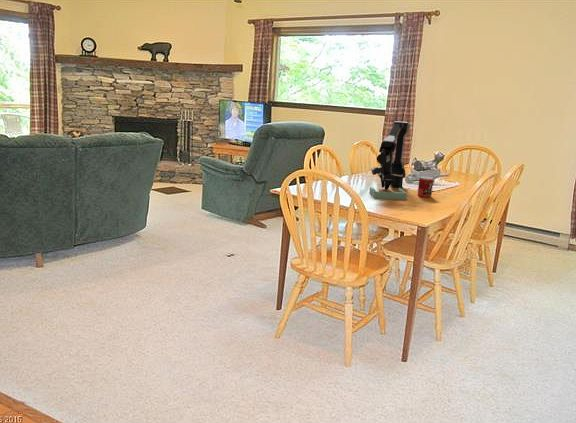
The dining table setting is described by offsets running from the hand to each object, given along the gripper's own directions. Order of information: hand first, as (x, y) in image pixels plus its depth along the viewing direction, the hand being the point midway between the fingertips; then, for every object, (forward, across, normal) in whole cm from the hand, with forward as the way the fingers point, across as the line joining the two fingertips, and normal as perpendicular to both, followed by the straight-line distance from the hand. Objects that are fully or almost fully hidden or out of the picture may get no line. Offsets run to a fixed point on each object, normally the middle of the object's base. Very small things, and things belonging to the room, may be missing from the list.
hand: (384, 189), depth 305 cm
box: (+2, +9, 0) cm, 9 cm away
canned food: (+2, +5, +22) cm, 23 cm away
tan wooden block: (+3, +9, -1) cm, 9 cm away
